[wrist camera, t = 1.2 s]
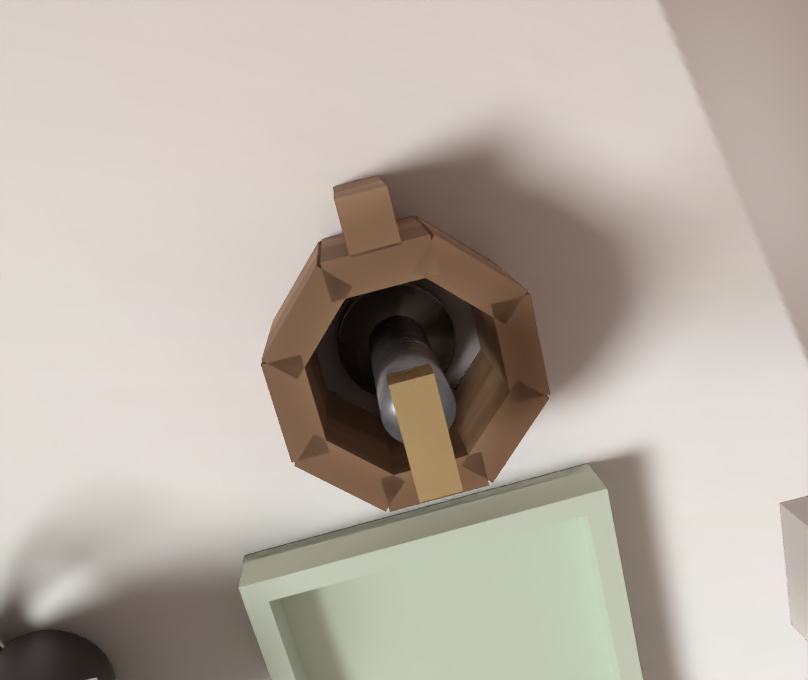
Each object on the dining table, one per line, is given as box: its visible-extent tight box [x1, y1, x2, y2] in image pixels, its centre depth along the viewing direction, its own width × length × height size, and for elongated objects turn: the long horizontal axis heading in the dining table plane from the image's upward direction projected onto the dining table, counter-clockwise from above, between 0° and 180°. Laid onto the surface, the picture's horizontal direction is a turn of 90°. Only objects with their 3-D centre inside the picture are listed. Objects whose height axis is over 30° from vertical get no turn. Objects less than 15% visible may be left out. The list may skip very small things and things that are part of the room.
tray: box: [238, 464, 643, 680], centre depth 36 cm, size 16×16×2 cm
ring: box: [261, 176, 550, 512], centre depth 29 cm, size 12×10×6 cm
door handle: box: [339, 283, 463, 502], centre depth 28 cm, size 5×5×10 cm
